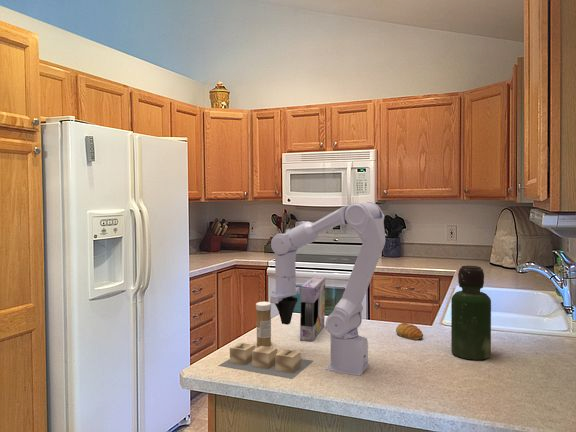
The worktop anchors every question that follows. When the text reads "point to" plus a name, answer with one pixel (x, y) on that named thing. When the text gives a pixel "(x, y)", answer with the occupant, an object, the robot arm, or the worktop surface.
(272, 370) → the tap mat
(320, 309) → the cake pan box
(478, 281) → the green bottle
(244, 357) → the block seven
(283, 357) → the block one
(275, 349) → the plain block
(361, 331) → the worktop surface
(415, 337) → the pastry
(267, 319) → the sprinkles bottle
